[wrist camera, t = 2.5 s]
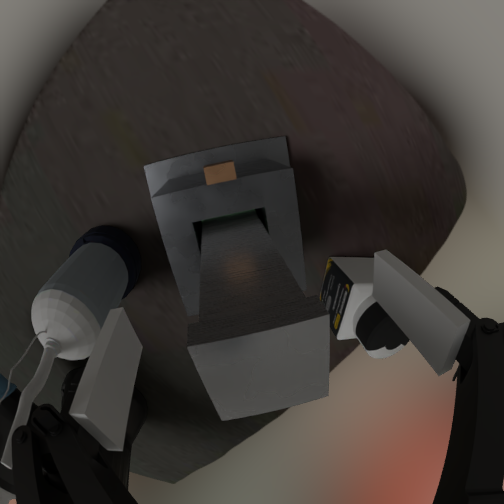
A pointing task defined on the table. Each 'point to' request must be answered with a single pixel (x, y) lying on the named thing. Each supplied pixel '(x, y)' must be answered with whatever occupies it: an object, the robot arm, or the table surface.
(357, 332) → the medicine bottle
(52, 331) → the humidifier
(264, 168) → the stand housing
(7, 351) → the table surface
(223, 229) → the column
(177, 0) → the table surface
